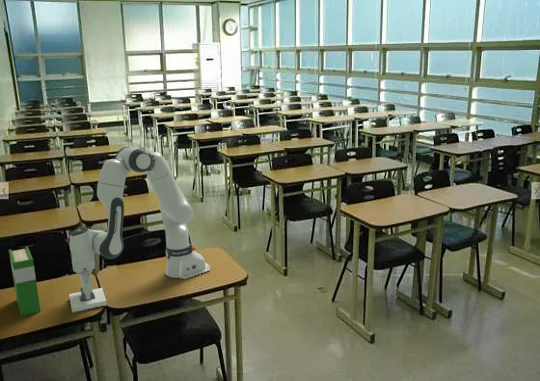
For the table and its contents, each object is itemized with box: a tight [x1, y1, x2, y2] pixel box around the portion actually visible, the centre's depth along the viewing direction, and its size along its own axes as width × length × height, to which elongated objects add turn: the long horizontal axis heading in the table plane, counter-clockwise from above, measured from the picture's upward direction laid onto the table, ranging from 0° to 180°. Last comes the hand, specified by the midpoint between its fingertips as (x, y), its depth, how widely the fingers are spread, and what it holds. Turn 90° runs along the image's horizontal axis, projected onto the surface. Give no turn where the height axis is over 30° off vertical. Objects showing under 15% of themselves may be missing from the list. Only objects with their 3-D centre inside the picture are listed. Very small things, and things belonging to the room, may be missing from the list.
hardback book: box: [8, 245, 41, 317], centre depth 202 cm, size 18×7×24 cm, turn 33°
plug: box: [80, 287, 93, 301], centre depth 206 cm, size 4×5×7 cm
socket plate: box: [68, 287, 108, 314], centre depth 207 cm, size 14×14×2 cm
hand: (87, 294), depth 206 cm, fingers open, 8 cm apart
